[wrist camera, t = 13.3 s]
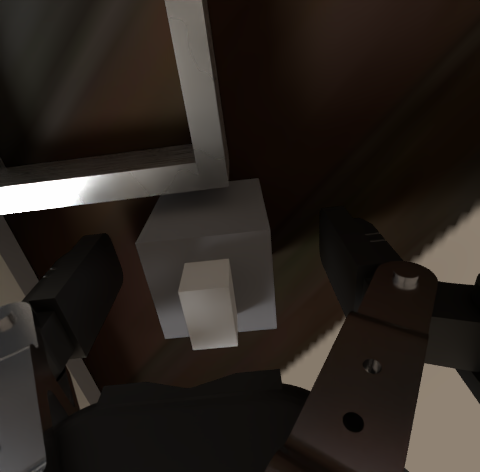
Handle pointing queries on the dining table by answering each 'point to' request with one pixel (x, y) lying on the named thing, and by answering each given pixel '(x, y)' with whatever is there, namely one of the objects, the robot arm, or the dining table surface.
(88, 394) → the power strip
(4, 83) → the dining table surface
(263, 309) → the cable plug
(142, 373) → the dining table surface
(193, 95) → the white two-window frame
